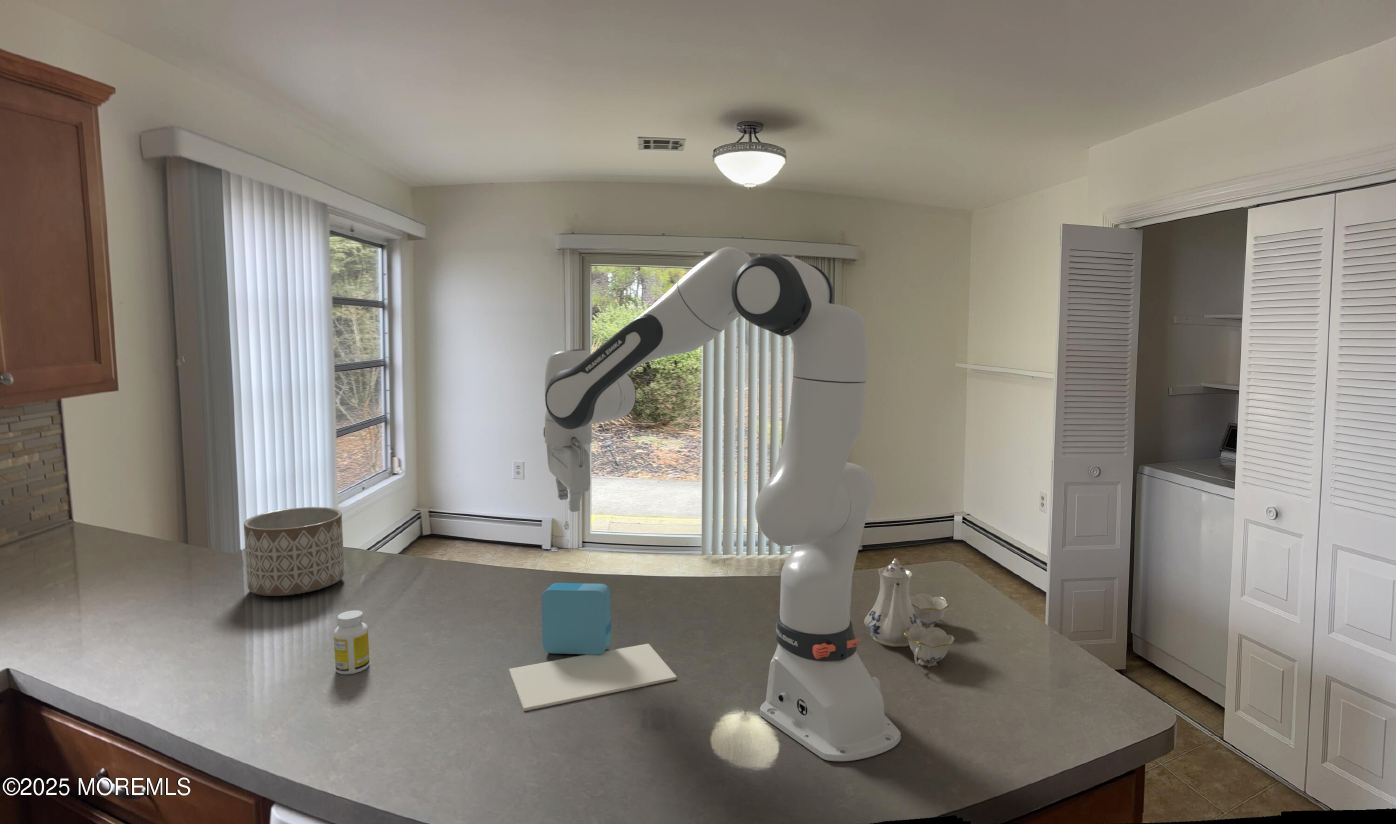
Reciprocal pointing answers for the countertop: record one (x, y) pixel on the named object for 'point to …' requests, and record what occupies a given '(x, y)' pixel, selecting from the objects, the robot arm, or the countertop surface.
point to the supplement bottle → (351, 643)
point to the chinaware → (908, 617)
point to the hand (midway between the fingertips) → (568, 504)
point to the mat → (588, 676)
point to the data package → (576, 618)
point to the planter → (294, 550)
